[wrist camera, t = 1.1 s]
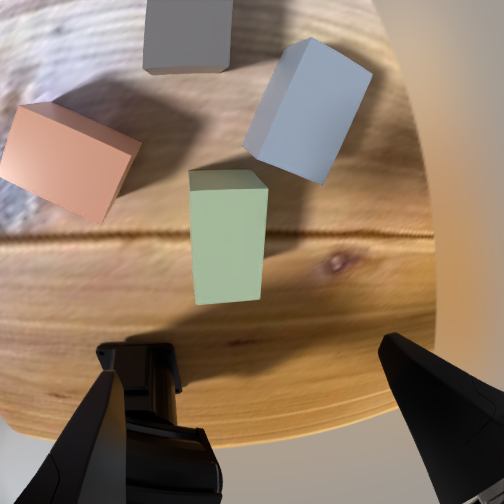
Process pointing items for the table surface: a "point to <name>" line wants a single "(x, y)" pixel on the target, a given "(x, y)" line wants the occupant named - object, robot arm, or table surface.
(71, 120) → the terracotta brick
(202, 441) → the robot arm
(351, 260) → the table surface
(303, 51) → the slate blue brick
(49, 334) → the table surface
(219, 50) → the charcoal brick
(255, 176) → the green brick
